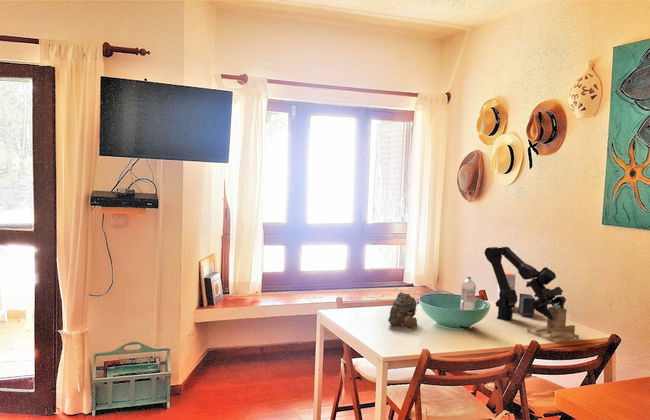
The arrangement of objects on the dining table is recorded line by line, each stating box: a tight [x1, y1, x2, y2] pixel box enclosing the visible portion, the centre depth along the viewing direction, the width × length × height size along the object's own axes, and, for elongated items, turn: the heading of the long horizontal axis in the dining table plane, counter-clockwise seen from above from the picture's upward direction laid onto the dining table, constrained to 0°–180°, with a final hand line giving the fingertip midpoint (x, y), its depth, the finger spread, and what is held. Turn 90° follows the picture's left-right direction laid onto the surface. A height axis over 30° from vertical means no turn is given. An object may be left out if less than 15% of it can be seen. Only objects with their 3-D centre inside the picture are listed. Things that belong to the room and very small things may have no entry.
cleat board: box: [526, 324, 580, 343], centre depth 217 cm, size 16×16×6 cm
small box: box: [517, 293, 536, 318], centre depth 252 cm, size 11×6×10 cm, turn 168°
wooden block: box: [546, 305, 567, 333], centre depth 216 cm, size 6×6×13 cm
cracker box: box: [496, 269, 516, 311], centre depth 265 cm, size 14×6×21 cm, turn 174°
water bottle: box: [459, 276, 477, 329], centre depth 226 cm, size 7×7×25 cm
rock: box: [387, 292, 418, 328], centre depth 226 cm, size 18×14×15 cm
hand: (558, 318), depth 215 cm, fingers open, 9 cm apart
